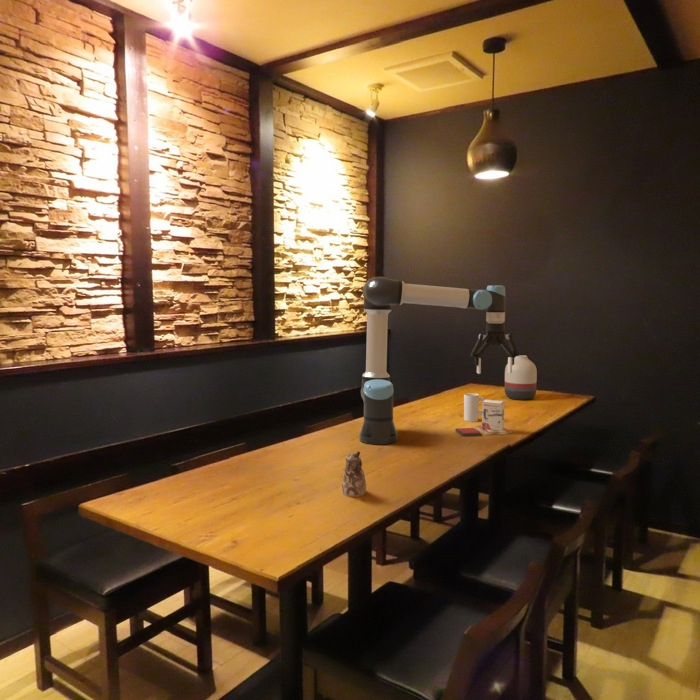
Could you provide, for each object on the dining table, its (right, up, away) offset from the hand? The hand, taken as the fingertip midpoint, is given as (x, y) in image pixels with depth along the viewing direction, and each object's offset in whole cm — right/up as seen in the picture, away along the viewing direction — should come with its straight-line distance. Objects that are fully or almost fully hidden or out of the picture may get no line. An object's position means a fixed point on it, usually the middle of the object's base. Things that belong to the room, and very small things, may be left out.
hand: (494, 373), depth 250 cm
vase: (+34, -17, +80) cm, 88 cm away
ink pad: (-11, -25, -2) cm, 27 cm away
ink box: (0, -24, +2) cm, 24 cm away
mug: (-3, -23, +23) cm, 33 cm away
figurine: (-59, -32, -76) cm, 101 cm away
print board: (0, -25, +2) cm, 25 cm away
